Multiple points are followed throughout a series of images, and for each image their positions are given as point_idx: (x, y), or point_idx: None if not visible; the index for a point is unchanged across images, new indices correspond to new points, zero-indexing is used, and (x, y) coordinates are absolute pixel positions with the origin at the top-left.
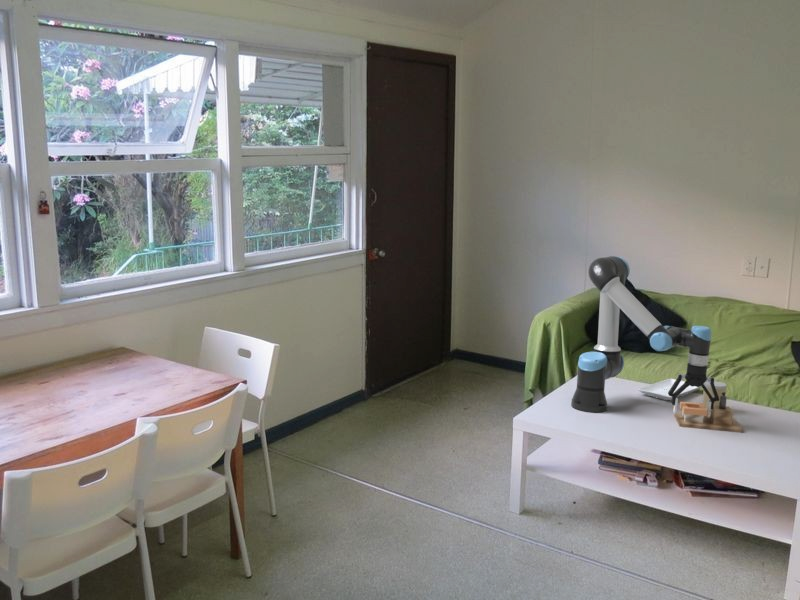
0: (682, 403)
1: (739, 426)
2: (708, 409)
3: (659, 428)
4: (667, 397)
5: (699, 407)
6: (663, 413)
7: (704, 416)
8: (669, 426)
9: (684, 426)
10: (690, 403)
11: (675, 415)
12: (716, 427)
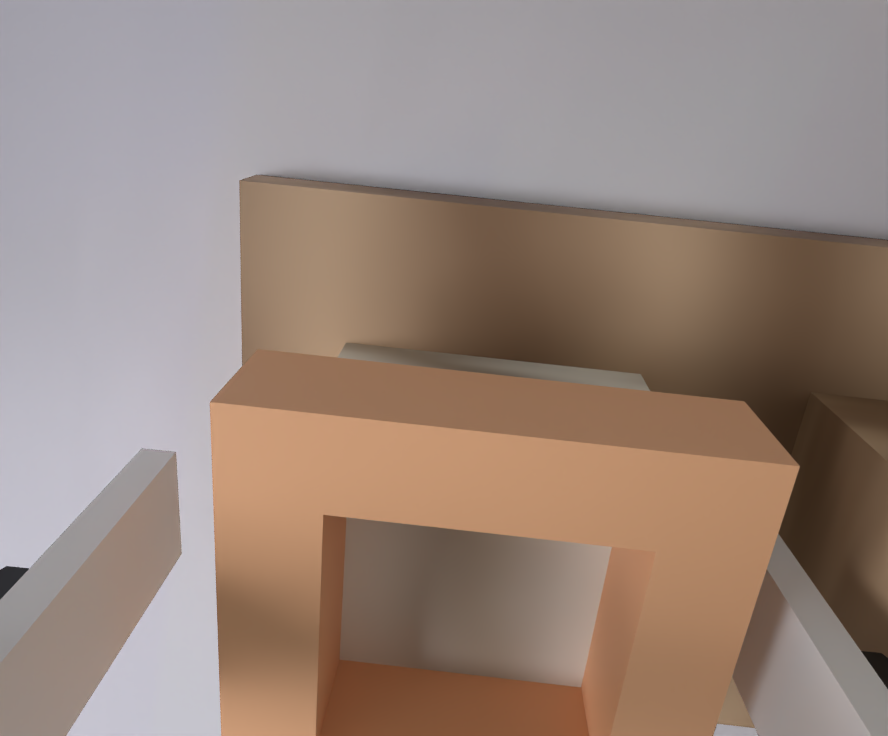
0: (242, 537)
1: None
2: (755, 728)
3: None
4: None
5: (634, 553)
6: (82, 65)
7: (771, 279)
8: (135, 653)
9: None
10: (448, 504)
11: (242, 316)
12: (722, 719)
